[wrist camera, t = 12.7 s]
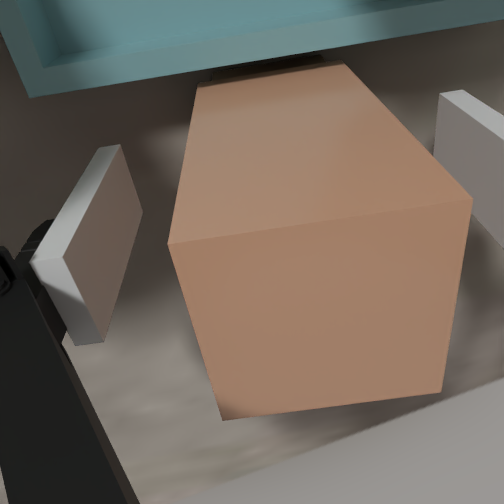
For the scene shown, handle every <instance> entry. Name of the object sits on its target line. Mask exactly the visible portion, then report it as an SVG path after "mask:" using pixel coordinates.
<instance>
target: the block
mask: <svg viewBox="0 0 504 504" xmlns="http://www.w3.org/2000/svg"><path fill="white" fill-rule="evenodd" d="M472 204H473V198H472V197H471V196H470V195H469V194H468V193H467V192H466V190H465V189H464V188H463V187H462V186H461V185H460V184H459V183H458V182H457V181H456V180H455V179H454V178H453V177H452V176H451V175H450V174H449V173H448V172H447V171H446V169H445V168H444V167H443V166H442V165H441V164H440V163H439V162H438V161H437V160H436V159H435V158H434V157H433V156H432V155H431V154H430V153H429V152H428V151H427V150H426V148H425V147H424V146H423V145H422V144H421V143H420V142H419V141H418V140H417V139H416V138H415V137H414V136H413V135H412V134H411V133H410V132H409V131H408V130H407V129H406V127H405V126H404V125H403V124H402V123H401V122H400V121H399V120H398V119H397V118H396V117H395V116H394V115H393V114H392V113H391V112H390V111H389V110H388V109H387V108H386V107H385V105H384V104H383V103H382V102H381V101H380V100H379V99H378V98H377V97H376V96H375V95H374V94H373V93H372V92H371V91H370V90H369V89H368V88H367V87H366V86H365V84H364V83H363V82H362V81H361V80H360V79H359V78H358V77H357V76H356V75H355V74H354V73H353V72H352V71H351V70H350V69H349V68H348V67H347V66H346V65H345V63H344V62H343V61H342V60H335V61H329V62H323V63H317V64H311V65H305V66H299V67H293V68H287V69H280V70H274V71H268V72H262V73H256V74H250V75H244V76H238V77H232V78H226V79H220V80H214V81H208V82H201V83H198V86H197V91H196V97H195V102H194V107H193V113H192V118H191V123H190V128H189V134H188V139H187V144H186V149H185V155H184V160H183V165H182V171H181V176H180V181H179V186H178V192H177V197H176V202H175V207H174V213H173V218H172V223H171V229H170V234H169V239H168V247H169V251H170V254H171V257H172V260H173V264H174V267H175V270H176V273H177V276H178V280H179V283H180V286H181V289H182V292H183V296H184V299H185V302H186V305H187V308H188V312H189V315H190V318H191V321H192V324H193V328H194V331H195V334H196V337H197V340H198V344H199V347H200V350H201V353H202V356H203V360H204V363H205V366H206V369H207V372H208V376H209V379H210V382H211V385H212V388H213V392H214V395H215V398H216V401H217V405H218V408H219V411H220V414H221V417H222V421H225V420H232V419H240V418H248V417H255V416H263V415H271V414H278V413H286V412H294V411H301V410H309V409H317V408H324V407H332V406H340V405H347V404H355V403H363V402H370V401H378V400H386V399H393V398H401V397H409V396H416V395H424V394H432V393H439V392H441V390H442V384H443V378H444V372H445V366H446V360H447V354H448V348H449V342H450V336H451V330H452V324H453V318H454V312H455V306H456V300H457V294H458V288H459V282H460V276H461V270H462V264H463V258H464V252H465V246H466V240H467V234H468V228H469V222H470V216H471V210H472Z"/></svg>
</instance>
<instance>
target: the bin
mask: <svg viewBox="0 0 504 504" xmlns="http://www.w3.org/2000/svg"><path fill="white" fill-rule="evenodd" d="M498 20H504V0H0V32H1V34H2V36H3V38H4V41H5V43H6V45H7V48H8V50H9V52H10V55H11V57H12V59H13V62H14V64H15V66H16V69H17V71H18V73H19V75H20V78H21V80H22V82H23V85H24V87H25V89H26V92H27V94H28V96H29V98H33V97H39V96H46V95H52V94H58V93H64V92H70V91H76V90H82V89H88V88H94V87H100V86H106V85H112V84H118V83H124V82H130V81H136V80H142V79H148V78H154V77H160V76H166V75H172V74H178V73H184V72H190V71H196V70H202V69H208V68H214V67H220V66H226V65H233V64H239V63H245V62H251V61H257V60H263V59H269V58H275V57H281V56H287V55H293V54H299V53H305V52H311V51H317V50H323V49H329V48H335V47H341V46H347V45H353V44H359V43H365V42H371V41H377V40H383V39H389V38H395V37H401V36H407V35H413V34H419V33H426V32H432V31H438V30H444V29H450V28H456V27H462V26H468V25H474V24H480V23H486V22H492V21H498Z"/></svg>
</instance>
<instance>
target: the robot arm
mask: <svg viewBox="0 0 504 504" xmlns="http://www.w3.org/2000/svg"><path fill="white" fill-rule="evenodd" d="M433 157H434V158H435V159H436V160H437V161H438V162H439V163H440V164H441V165H442V166H443V167H444V168H445V169H446V171H447V172H448V173H449V174H450V175H451V176H452V177H453V178H454V179H455V180H456V181H457V182H458V183H459V184H460V185H461V186H462V187H463V188H464V189H465V190H466V192H467V193H468V194H469V195H470V196H471V197H472V198H473V204H472V210H471V213H472V214H473V215H474V216H475V217H476V219H477V220H478V221H479V222H480V223H481V224H482V225H483V226H484V228H485V229H486V230H487V231H488V232H489V233H490V234H491V235H492V236H493V238H494V239H495V240H496V241H497V242H498V243H499V244H500V245H501V247H502V248H503V249H504V116H503V115H501V114H500V113H498V112H497V111H495V110H494V109H492V108H490V107H489V106H487V105H486V104H484V103H483V102H481V101H480V100H478V99H476V98H475V97H473V96H472V95H470V94H469V93H467V92H465V91H464V90H457V91H451V92H444V93H439V101H438V111H437V121H436V131H435V141H434V151H433ZM142 215H143V211H142V208H141V205H140V202H139V199H138V196H137V193H136V190H135V187H134V184H133V181H132V178H131V175H130V172H129V169H128V166H127V163H126V160H125V157H124V154H123V151H122V148H121V145H120V144H118V145H112V146H105V147H99V148H98V150H97V151H96V153H95V154H94V156H93V158H92V159H91V161H90V163H89V164H88V166H87V168H86V169H85V171H84V173H83V174H82V176H81V177H80V179H79V181H78V182H77V184H76V186H75V187H74V189H73V191H72V192H71V194H70V196H69V197H68V199H67V201H66V202H65V204H64V205H63V207H62V209H61V210H60V212H59V214H58V215H57V217H56V219H51V220H46V221H45V222H44V223H42V224H41V225H40V226H39V227H38V228H36V229H35V230H34V231H33V232H32V234H31V235H30V237H29V238H28V240H27V243H25V244H24V246H23V248H22V249H21V252H19V254H18V255H17V257H16V258H15V260H13V258H12V256H11V254H10V253H9V251H8V249H6V248H5V247H4V246H0V467H1V471H2V476H3V480H4V485H5V489H6V494H7V498H8V502H9V504H140V503H139V501H138V499H137V497H136V495H135V493H134V490H133V488H132V486H131V484H130V482H129V480H128V478H127V476H126V474H125V472H124V470H123V468H122V466H121V464H120V462H119V459H118V457H117V455H116V453H115V451H114V449H113V447H112V445H111V443H110V441H109V439H108V437H107V435H106V433H105V430H104V428H103V426H102V424H101V422H100V420H99V418H98V416H97V414H96V412H95V410H94V408H93V406H92V404H91V402H90V399H89V397H88V395H87V393H86V391H85V389H84V387H83V385H82V383H81V381H80V379H79V377H78V375H77V373H76V370H75V368H74V366H73V364H72V362H71V360H70V358H69V356H68V354H67V352H66V350H65V349H64V347H63V345H62V340H63V338H64V335H65V333H66V331H67V332H68V334H69V336H70V337H71V339H72V341H73V343H74V345H75V346H79V345H86V344H93V343H101V342H104V340H105V337H106V334H107V330H108V327H109V324H110V321H111V317H112V314H113V311H114V307H115V304H116V301H117V297H118V294H119V291H120V287H121V284H122V281H123V277H124V274H125V271H126V268H127V264H128V261H129V258H130V254H131V251H132V248H133V244H134V241H135V238H136V234H137V231H138V228H139V224H140V221H141V218H142Z"/></svg>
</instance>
